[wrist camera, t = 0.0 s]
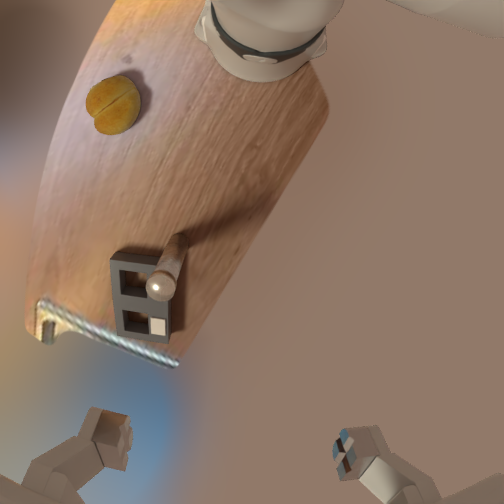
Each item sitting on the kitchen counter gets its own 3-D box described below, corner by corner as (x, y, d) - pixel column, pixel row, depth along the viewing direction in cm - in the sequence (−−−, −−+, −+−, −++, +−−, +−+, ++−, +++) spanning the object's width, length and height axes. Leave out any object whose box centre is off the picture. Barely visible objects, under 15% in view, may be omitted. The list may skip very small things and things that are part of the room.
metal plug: (168, 230, 47) (145, 274, 35) (191, 233, 48) (174, 277, 35) (167, 251, 49) (146, 299, 36) (189, 254, 49) (174, 303, 37)
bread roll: (107, 143, 41) (96, 146, 38) (85, 96, 38) (72, 95, 34) (152, 116, 40) (144, 116, 36) (128, 67, 36) (119, 63, 33)
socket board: (115, 251, 49) (108, 260, 46) (172, 258, 50) (168, 268, 47) (121, 325, 55) (116, 336, 52) (171, 333, 56) (168, 345, 53)
